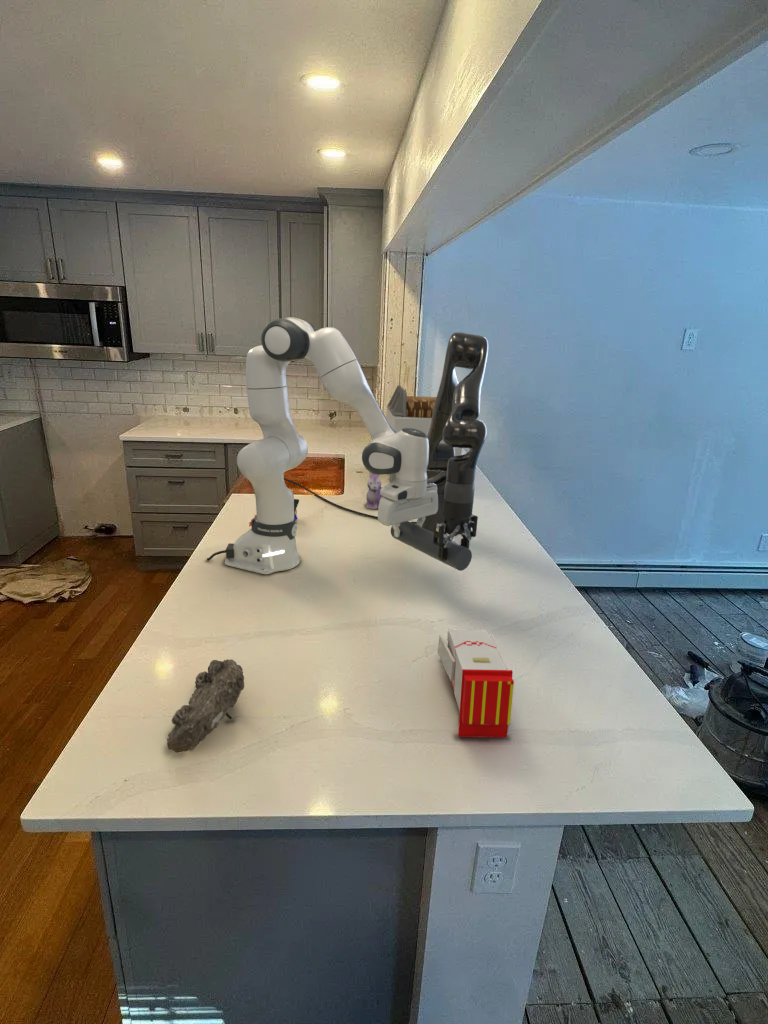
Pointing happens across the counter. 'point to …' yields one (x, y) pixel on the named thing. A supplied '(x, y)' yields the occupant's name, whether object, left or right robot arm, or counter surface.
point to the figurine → (373, 491)
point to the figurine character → (295, 507)
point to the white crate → (411, 414)
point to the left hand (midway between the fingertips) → (407, 533)
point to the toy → (478, 682)
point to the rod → (423, 542)
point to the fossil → (206, 705)
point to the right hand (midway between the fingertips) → (453, 556)
